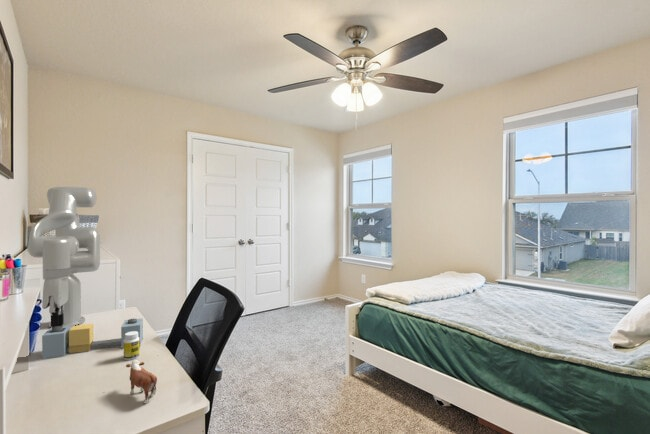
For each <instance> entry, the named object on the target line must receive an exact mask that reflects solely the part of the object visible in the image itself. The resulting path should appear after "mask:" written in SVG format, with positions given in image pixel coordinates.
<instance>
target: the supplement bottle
mask: <svg viewBox="0 0 650 434" xmlns="http://www.w3.org/2000/svg"><path fill="white" fill-rule="evenodd" d="M139 341H140V339H139V337H138V332H137V331H131V332H128V333H126V334H125V340H124V349H123V360H125V361H134V360H137V358H139V357H140V347H139Z"/></svg>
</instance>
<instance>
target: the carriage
mask: <svg viewBox="0 0 650 434" xmlns="http://www.w3.org/2000/svg"><path fill="white" fill-rule="evenodd" d="M91 342H94V323H88V324H87V323H86V324H79V325H76V326H72V328H71V329H70V330H69V353H68V354H74V353H82V352H87V351H88V352H90V351H91V350H90V344H91Z"/></svg>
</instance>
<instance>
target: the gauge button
mask: <svg viewBox="0 0 650 434" xmlns="http://www.w3.org/2000/svg"><path fill="white" fill-rule="evenodd" d="M54 332H63V325H62V326H54V327H52V333H54Z"/></svg>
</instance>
